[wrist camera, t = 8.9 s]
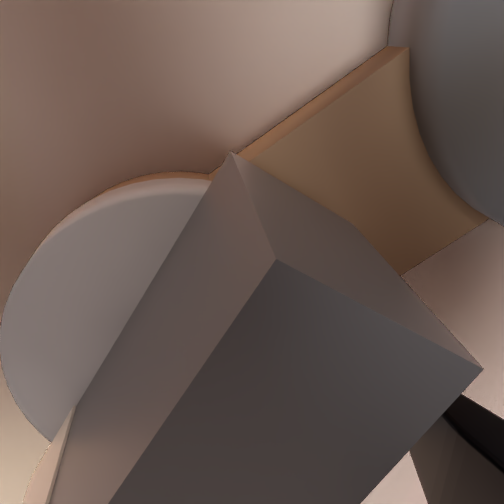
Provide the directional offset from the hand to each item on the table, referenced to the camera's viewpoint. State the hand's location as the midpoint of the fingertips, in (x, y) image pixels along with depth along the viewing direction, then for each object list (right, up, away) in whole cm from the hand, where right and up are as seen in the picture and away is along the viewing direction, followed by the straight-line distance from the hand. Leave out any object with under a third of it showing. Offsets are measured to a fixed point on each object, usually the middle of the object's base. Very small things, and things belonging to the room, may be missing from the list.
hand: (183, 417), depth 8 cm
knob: (0, +1, +2) cm, 3 cm away
